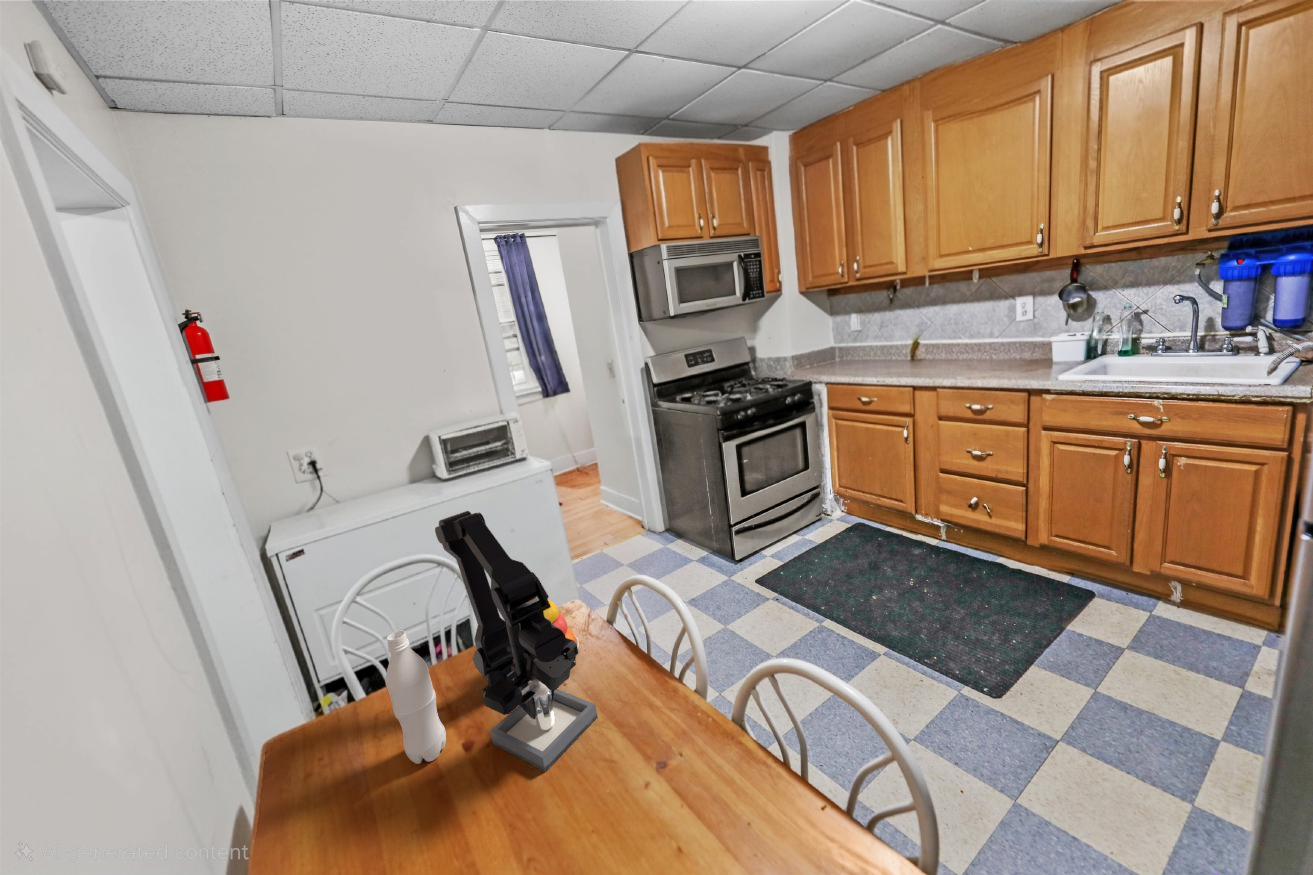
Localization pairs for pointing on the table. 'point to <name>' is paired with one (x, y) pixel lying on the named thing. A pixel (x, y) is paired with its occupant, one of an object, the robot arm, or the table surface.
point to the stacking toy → (557, 620)
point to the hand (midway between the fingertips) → (541, 710)
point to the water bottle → (413, 700)
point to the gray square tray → (544, 745)
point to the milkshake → (542, 705)
